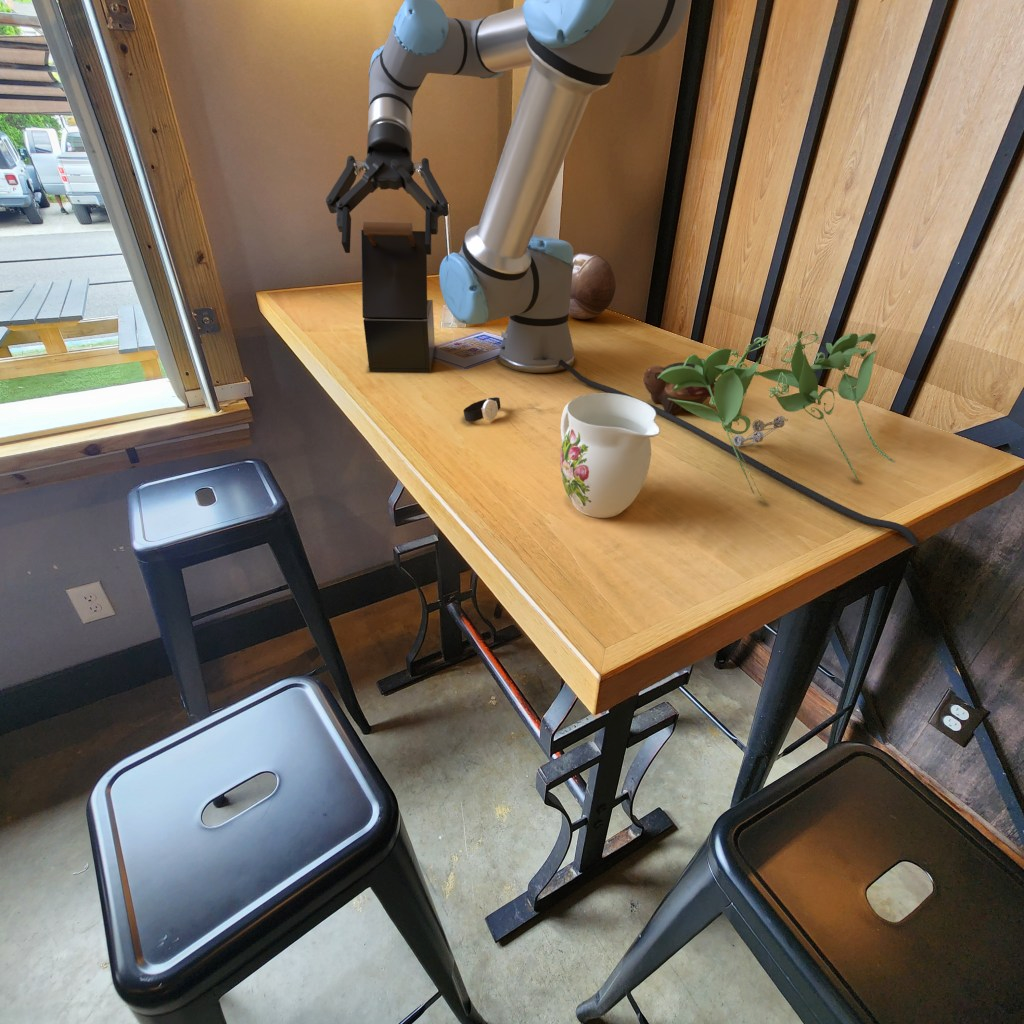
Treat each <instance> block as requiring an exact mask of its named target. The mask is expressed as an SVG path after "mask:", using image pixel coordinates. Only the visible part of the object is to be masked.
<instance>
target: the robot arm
mask: <svg viewBox="0 0 1024 1024" xmlns="http://www.w3.org/2000/svg"><path fill="white" fill-rule="evenodd" d="M690 3H691V0H524V3H523V4H521V5H520V6H516V7H513V8H510V9H507V10H503V11H500V12H496V13H493V14H490V15H488V16H485V17H481V18H478V19H473V20H472V19H471V20H469V19H461V18H455V17H450V16H447V14H446V12H445V11H444V9H443V7H442V6H441V4H440V3H439V2H438V1H437V0H404V1H403V3H402V5H401V6H400V8H399V10H398V12H397V13H396V14H395V17H394V19H393V23H392V26H391V28H390V31H389V34H388V36H387V39H386V42H385V43H384V45H381V46H380V47H379V48H377V49H375V50H374V52H373V54H372V55H371V59H370V64H369V65H370V66H369V69H368V82H369V83H368V84H369V86H368V116H367V117H368V118H367V120H368V121H367V140H366V144H367V145H366V157H365V159H364V160H356V158H355V157H354V156H353V155H348V157H347V158H346V164H345V167H344V169H343V171H342V172H341V174H340V175H339V177H338V178H337V180H336V181H335V183H334V185H333V187H332V189H331V190H329V193H328V195H327V197H325V204H326V206H327V209H328V211H329V213H330V214H336V219H335V220H336V222H335V224H336V227H337V230H338V232H339V233H341V245H342V248H343V251H344V253H346V254H350V253H351V237H352V235H351V233H352V217H351V214H350V213H351V212H352V211H353V210H354V209H355V208H356V207H357V206H358V205H359V204H360V203H362V202H363V200H364V199H366V198H367V197H368V195H369V194H373V193H374V192H375V191H376V190H378V189H379V188H380V190H382V191H383V190H385V191H386V190H394V191H399V190H400V189H401V188H402V189H403V190H404V192H405V193H406V194H407V195H410V196H411V198H412V199H414V201H415V202H416V203H417V204H418V205H419V206H420V207H421V208H422V209H423V210H424V212H425V221H424V223H425V225H424V226H425V229H424V230H425V247H426V253H427V256H428V255H429V256H430V255H431V256H432V235H435V236H436V235H438V232H439V218H440V217H442V216H443V217H448V216H449V214H450V211H449V202H448V201H447V198H446V196H445V195H444V193H443V191H442V189H441V187H440V186H439V184H438V182H437V180H436V178H435V176H434V175H433V173H432V171H431V168H430V161H429V159H428V158H426V157H424V158H422V159H421V162H413V160H412V159H413V158H412V157H413V141H412V140H413V109H414V108H413V106H414V99H415V97H416V95H417V93H418V91H419V89H420V87H421V86H422V84H423V83H424V81H425V79H426V77H427V75H428V74H436V75H450V76H464V77H473V78H480V79H485V80H486V79H496V78H497V79H498V78H500V77H502V76H503V75H504V74H505V72H506V71H511V70H515V69H516V70H517V69H521V68H525V67H529V70H528V72H527V76H526V78H525V82H524V85H523V87H522V91H521V94H520V97H519V100H518V103H517V106H516V110H515V112H514V115H513V118H512V122H511V124H510V128H509V131H508V134H507V136H506V140H505V143H504V145H503V149H502V151H501V155H500V158H499V161H498V164H497V167H496V170H495V174H494V177H493V180H492V182H491V186H490V189H489V192H488V194H487V198H486V200H485V204H484V207H483V210H482V213H481V217H480V219H479V222H478V224H477V225H473V226H472V227H470V228H469V229H468V230H467V231H466V233H465V234H464V238H463V241H462V244H461V247H460V250H459V252H451V253H450V254H448V255H445V257H443V259H442V260H441V262H440V266H439V273H438V274H439V276H438V277H439V288H440V291H441V294H442V297H443V301H444V303H445V305H446V307H447V309H448V310H449V312H450V313H451V315H452V316H453V317H454V318H455V319H456V320H457V321H459V322H460V323H462V324H465V325H477V324H482V325H484V324H486V323H488V322H489V323H490V322H492V321H497V320H501V319H505V318H509V319H508V323H507V327H506V330H505V332H503V331H501V333H500V337H501V338H502V341H501V344H500V348H499V362H500V363H501V364H503V366H505V367H507V368H510V369H512V370H514V371H519V372H524V373H532V374H551V373H556V372H557V373H558V372H561V371H565V370H567V371H568V372H569V373H570V374H572V375H573V376H574V377H575V378H576V379H577V380H578V381H580V382H582V383H584V384H585V385H588V386H590V387H592V388H594V389H597V390H600V391H603V392H605V393H613V394H620V395H626V396H630V397H633V398H636V399H639V398H638V397H635V396H633V395H630V394H628V393H626V392H623V391H621V390H618V389H616V388H614V387H611V386H607V385H605V384H602V383H599V382H597V381H593V380H591V379H589V378H587V377H586V376H584V375H582V374H581V373H580V372H578V371H577V369H575V368H574V367H572V366H573V365H574V363H575V349H574V345H573V339H572V336H571V332H570V331H571V330H570V327H569V326H570V325H569V306H570V295H571V285H572V274H573V268H574V264H573V256H574V247H573V246H572V244H571V243H570V242H569V241H567V240H563V239H559V238H554V237H548V236H543V235H542V236H541V235H534V233H535V231H536V228H537V226H538V224H539V221H540V219H541V216H542V213H543V211H544V209H545V207H546V204H547V202H548V199H549V197H550V195H551V192H552V189H553V188H554V185H555V182H556V180H557V178H558V175H559V173H560V170H561V168H562V166H563V164H564V161H565V158H566V156H567V154H568V152H569V149H570V147H571V144H572V142H573V139H574V137H575V135H576V132H577V131H578V128H579V125H580V122H581V121H582V119H583V115H584V113H585V110H586V108H587V105H588V103H589V101H590V99H591V96H592V94H593V93H595V92H598V91H600V90H602V89H605V88H607V87H608V85H609V84H610V82H611V80H612V77H613V75H614V73H615V70H616V69H617V66H618V64H619V62H620V59H621V58H623V57H644V56H649V55H652V54H654V53H656V52H658V51H660V50H661V49H663V48H664V47H666V46H667V45H668V44H669V43H671V40H673V39H674V38H675V36H676V35H677V34H678V32H679V30H680V28H681V27H682V25H683V23H684V21H685V18H686V17H687V13H688V11H689V7H690ZM363 171H364V173H363V174H362V177H361V178H360V179H359V180H358V181H357V182H356V179H357V177H360V175H361V172H363ZM415 173H417V175H418V177H420V179H423V182H424V184H425V186H426V188H427V190H428V191H429V193H430V195H431V197H432V198H431V197H430V195H428V194H427V193H426V192H425V190H423V188H422V187H421V186H420V185H419V184H418V183H417V182H416V181H415V180H414V178H413V176H414V174H415ZM355 182H356V183H355ZM639 400H641V399H639ZM641 401H643V402H645V403H647V404H649V405H650V406H651V407H653V408H654V409H655V411H656V415H659V416H661V417H663V418H665V419H667V420H669V421H671V422H673V423H675V424H677V425H678V426H680V427H682V428H684V429H686V430H688V431H690V432H691V433H694V434H696V435H697V436H699V437H701V438H703V439H705V440H706V441H708V442H710V443H711V444H713V445H715V446H717V447H719V448H721V449H722V450H724V451H726V452H727V453H729V454H730V455H733V456H734V457H736V458H737V456H736V454H735V451H734V449H733V447H732V445H730V444H728V443H726V442H725V441H723V440H721V439H719V438H717V437H715V436H713V435H712V434H710V433H709V432H706V431H705V430H703V429H701V428H699V427H697V426H695V425H693V424H692V423H689V422H688V421H685V420H684V419H682V418H679V417H678V416H676V415H674V414H673V413H672V414H670V413H668V412H666V411H665V409H664V410H663V409H662V408H660V407H657V406H655V405H653V404H651V403H649V402H646V401H644V400H641ZM735 449H736V452H737V454H738V456H739V458H740V461H741V460H742V461H743V460H744V461H743V462H745V464H748V465H750V466H752V467H754V468H755V469H756V470H759V471H761V472H763V473H764V474H766V475H768V476H770V477H771V478H773V479H775V480H777V481H779V482H780V483H782V484H784V485H786V486H787V487H789V488H791V489H793V490H795V491H797V492H799V493H800V494H803V495H805V496H807V497H808V498H811V499H812V500H814V501H817V502H818V503H820V504H822V505H824V506H826V507H828V508H830V509H831V510H833V511H835V512H837V513H839V514H841V515H844V516H846V517H848V518H850V519H852V520H855V521H857V522H859V523H862V524H864V525H868V526H872V527H876V528H882V529H886V530H891V531H894V532H897V533H899V534H900V535H902V536H903V537H904V539H906V541H907V542H908V543H909V544H910V545H911V546H913V547H917V548H919V547H920V546H921V544H920V543H921V542H920V540H919V539H918V538H917V535H916V534H915V533H914V532H913V531H912V530H911V529H910V528H908V527H907V526H906V525H903V524H901V523H898V522H895V521H891V520H886V519H880V518H876V517H871V516H867V515H865V514H862V513H860V512H857V511H855V510H854V509H851V508H849V507H846V506H844V505H842V504H840V503H838V502H837V501H835V500H832V499H831V498H829V497H827V496H825V495H822V494H820V493H819V492H817V491H815V490H812V489H811V488H809V487H807V486H805V485H803V484H802V483H799V482H798V481H795V480H794V479H791V478H790V477H788V476H787V475H784V474H783V473H781V472H778V470H775V469H773V468H772V467H770V466H768V465H766V464H763V463H762V462H760V461H758V460H757V459H755V458H753V457H751V456H749V455H747V453H744V452H742V451H741V450H740V449H739V450H738V448H735ZM739 451H740V452H739ZM740 453H741V454H740ZM741 455H742V456H741ZM742 457H743V459H742Z"/></svg>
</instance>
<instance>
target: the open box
mask: <svg viewBox="0 0 1024 1024" xmlns="http://www.w3.org/2000/svg"><path fill="white" fill-rule="evenodd" d="M362 322H363V329H364V338H365V345H366V346H365V347H366V355H367V363H368V371H369V373H431V371H432V365H433V359H434V354H435V349H436V341H435V320H434V301H433V299H427V319H376V318H363V321H362Z"/></svg>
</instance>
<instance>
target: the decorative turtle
mask: <svg viewBox="0 0 1024 1024" xmlns="http://www.w3.org/2000/svg"><path fill="white" fill-rule="evenodd" d="M684 363H685V361H684V362H682V361H681V362H675V363H671V364H668V365H666V366H664V367H663V366H661V365H651V366H649V367H648V368H647V369H646V370H645V372H644V374H643V379H642V380H643V384H644V386H645V389H646V390H647V392H648V393H649V394H650V398H651V402H653V403H654V404H660V403H661V405H662V406H663V409H664V411H666V412H668V413H670V414H672V415H673V414H674V413H675V412H677V411H679V409H681V408H682V407H681V406H679V405H678V404H677V403H675V402H674V401H672V400H669V399H668V398H670V399H676V400H683V401H690V402H696V403H700V404H703V403H704V402H705V401H706V400H708V398H712V397H711V395H710V393H709V391H708V389H707V387H699V386H690V387H686V388H683V389H680V390H677V391H675V392H673V389H674V387H675V386H676V385H675V384H671V383H668V382H666V381H664V380H662V379H661V378H658V376H659V375H660V374H661V373H662V372H663V371H665V370H666V369H668V368H671V367H675V366H683V365H684ZM685 366H689V367H692V368H694V369H695V364H686V365H685ZM716 381H717V379H715V380H714V382H713V383H712V384H711V385H710V388H711V391H712V394H713V396H714V386H715V384H714V383H716Z"/></svg>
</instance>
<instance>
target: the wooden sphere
mask: <svg viewBox="0 0 1024 1024" xmlns="http://www.w3.org/2000/svg"><path fill="white" fill-rule="evenodd" d="M573 264H574V268H573V274H572V285H571V295H570V306H569V316H570V317H571V318H574V319H578V320H589V319H593V318H595V317H598V316H599V315H601V314H602V313H604V312H605V311H606V310H607V309H608V307H609V306H610V305H611V303H612V301H613V300H614V297H615V293H616V288H617V287H616V286H617V284H616V283H617V282H616V275H615V272H614V270H613V268H612V266H611V265H610V264H609V262H608V261H607V260H606V259H605V258H603V257H602V256H600V255H598V254H596V253H593V252H580V253H576V254H573ZM569 316H568V317H569Z"/></svg>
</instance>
